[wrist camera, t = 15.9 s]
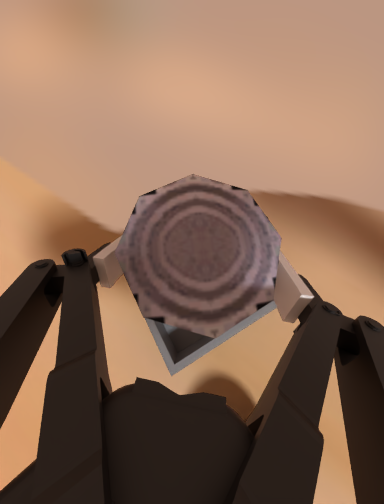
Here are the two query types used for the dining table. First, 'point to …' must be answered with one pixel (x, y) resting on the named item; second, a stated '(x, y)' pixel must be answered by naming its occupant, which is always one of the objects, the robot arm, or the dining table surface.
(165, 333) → the tray
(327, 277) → the dining table surface
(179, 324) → the can
